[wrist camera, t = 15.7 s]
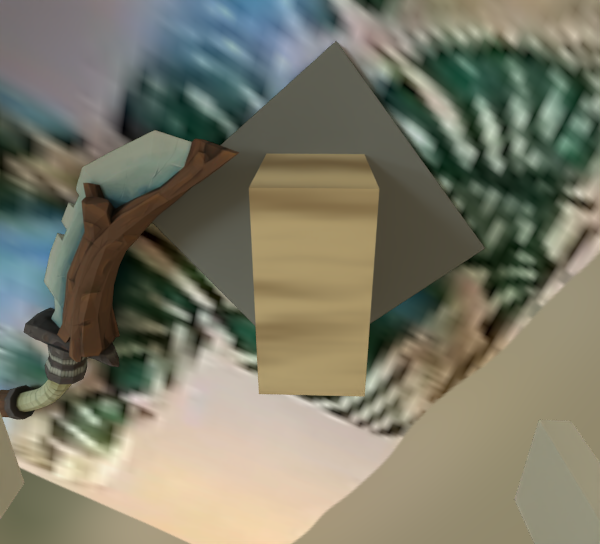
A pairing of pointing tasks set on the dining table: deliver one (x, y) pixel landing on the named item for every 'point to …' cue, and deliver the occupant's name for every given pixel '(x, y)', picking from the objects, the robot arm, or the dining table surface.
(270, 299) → the beech block
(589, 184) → the dining table surface
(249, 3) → the dining table surface
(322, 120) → the charcoal mat
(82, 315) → the decorative knife
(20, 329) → the dining table surface
